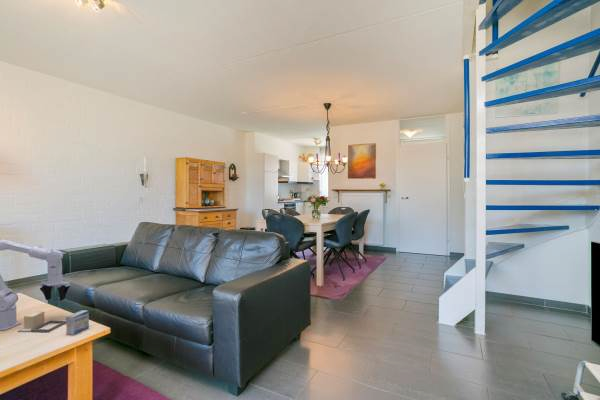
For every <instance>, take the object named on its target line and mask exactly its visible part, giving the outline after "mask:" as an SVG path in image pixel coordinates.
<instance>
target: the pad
mask: <svg viewBox="0 0 600 400" xmlns="http://www.w3.org/2000/svg"><path fill="white" fill-rule="evenodd" d="M46 322H47V321H45V323H46ZM17 332H18V333H32V332H31V329H24V327H23V328H21V329H19V330H17Z"/></svg>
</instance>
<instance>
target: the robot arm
mask: <svg viewBox="0 0 600 400" xmlns="http://www.w3.org/2000/svg"><path fill="white" fill-rule="evenodd" d="M7 250H9V251H10V250H11V251H13V252H19V253H25V254H27V255H28V256H29V257H30V258H33V259H37V260H42V261H46V262H47V281H41V282H39V284H40V285H39V287H40V288H39V290H40V291H41V292H42V294H43V296H44V299H45V301H49V300H51V299H52V290H53V287H57V292H58V295H59V301H60V302H61V301H64V300H66V299H65V298H66V295H67V293H68V290H69V289H70V287H71V282H70V281H64V280H63V264H62V261H63V257H64V253H63V251H61V250H59V249H55V250H54V249H53V248H47V247H46V248H45V247H43V246H42V245H35V246H33V247H32V246H28V245H25V244H22V243H18V242H15V241H12V240H9V239H6V238H5V239H3V238H0V251H1V252H2V251H7ZM18 301H19V295H18V294H17V293H16V292H14V291H13V289H11V288H9V287H8V286H7V284H6V283H5V280H4V278H3V277H2V275H1V274H0V331H7V330H10V329H12V328H13V327H15V326H18V325H20V324H22V321H18V320H17V304H16V303H17V302H18Z"/></svg>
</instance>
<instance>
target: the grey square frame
mask: <svg viewBox="0 0 600 400" xmlns="http://www.w3.org/2000/svg"><path fill="white" fill-rule="evenodd" d="M45 322H46V323H44V324H42V325H39V326H37V327H35V328H33V329H31V332H30V333H50V332H53V331H54V330H57V329H58V328H60V327H62V326H64V325H65V324H66V320H56V319H55V320H51V319H50V320H48V321H45ZM49 324H57V325H54V326H53V327H51V328H47V329H46V328H45V329H44V327H46V326H48V325H49ZM42 328H43V329H42Z"/></svg>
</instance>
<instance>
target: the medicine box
mask: <svg viewBox="0 0 600 400" xmlns="http://www.w3.org/2000/svg"><path fill="white" fill-rule="evenodd" d="M89 314H90V311H89V310H86V309H85V310H84V309H81V310H79V311H75V313H72V314H69V315H66V317H65V321H66V325H65V327H66V329H65V330H66V332H65V333H66V335H70V336H71V335H72V336H76V335H77V334H78V333H79V334H80V333H81V332H83V331H85V330H87V329H89V327H90V318H89V317H90V315H89Z"/></svg>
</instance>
